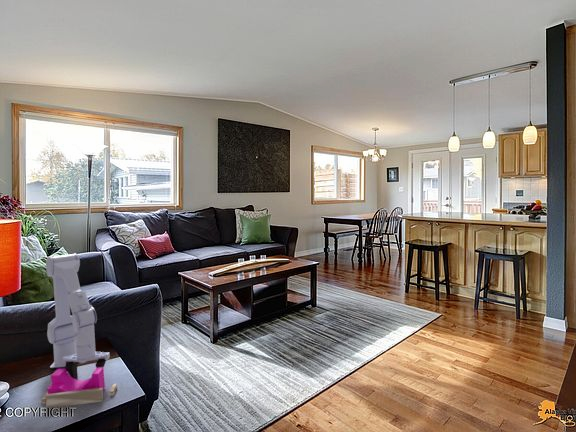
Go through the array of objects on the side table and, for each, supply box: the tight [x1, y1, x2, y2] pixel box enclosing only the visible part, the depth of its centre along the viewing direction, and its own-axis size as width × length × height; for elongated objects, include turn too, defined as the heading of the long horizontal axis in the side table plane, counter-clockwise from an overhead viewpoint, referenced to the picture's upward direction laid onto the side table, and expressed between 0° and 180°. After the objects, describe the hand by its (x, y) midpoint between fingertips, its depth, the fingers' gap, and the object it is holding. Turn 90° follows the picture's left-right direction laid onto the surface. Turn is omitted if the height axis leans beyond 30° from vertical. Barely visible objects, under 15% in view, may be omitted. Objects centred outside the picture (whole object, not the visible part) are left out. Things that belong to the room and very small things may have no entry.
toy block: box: [46, 367, 106, 394], centre depth 115 cm, size 15×6×8 cm, turn 95°
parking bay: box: [40, 383, 118, 409], centre depth 114 cm, size 7×21×4 cm, turn 102°
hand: (87, 380), depth 122 cm, fingers open, 7 cm apart
